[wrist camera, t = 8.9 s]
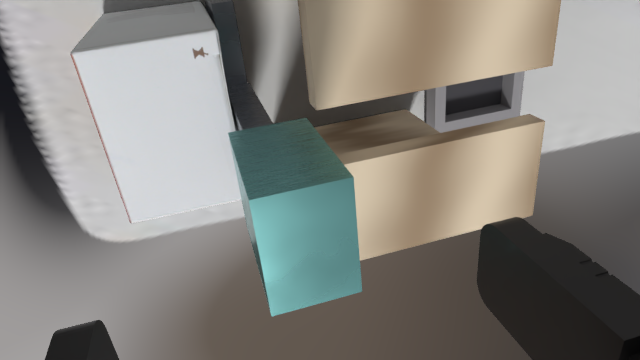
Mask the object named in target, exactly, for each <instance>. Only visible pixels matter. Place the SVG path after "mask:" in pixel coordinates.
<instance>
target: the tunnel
mask: <svg viewBox="0 0 640 360" xmlns="http://www.w3.org/2000/svg"><path fill="white" fill-rule="evenodd" d="M560 4H561V0H298V6H299V15H300V24H301V32H302V41H303V50H304V59H305V68H306V76H307V85H308V94H309V103H310V104H311V105H312V106H313V107H314V108H315V109H316V111H317V110H322V109H327V108H332V107H338V106H343V105H348V104H353V103H359V102H364V101H369V100H374V99H380V98H385V97H390V96H395V95H401V94H406V93H411V92H416V91H422V90H427V89H432V88H437V87H443V86H448V85H453V84H458V83H464V82H469V81H474V80H479V79H485V78H490V77H495V76H500V75H506V74H511V73H516V72H522V71H527V70H532V69H537V68H543V67H548V66H552V65H553V57H554V50H555V42H556V35H557V27H558V19H559V12H560ZM544 125H545V121H544V120H542V119H539V118H537V117H535V116H533V115H531V114H527V115H523V116H518V117H513V118H509V119H504V120H499V121H494V122H490V123H485V124H480V125H475V126H471V127H466V128H461V129H457V130H452V131H447V132H442V133H440V132H438V131H437V130H436V129H434V128H433V127H431V126H430V125H428V124H427V123H425V122H424V121H422V120H421V119H419V118H418V117H416V116H415V115H414V114H412V113H411V112H409V111H408V110H406V109H404V110H399V111H394V112H389V113H384V114H379V115H374V116H369V117H364V118H359V119H354V120H348V121H343V122H338V123H333V124H328V125H323V126H318V127H314V128H315V129H316V131H317V132H318V133H319V134H320V136H321V137H322V138H323V139H324V141H325V142H326V143H327V144H328V146H329V147H330V148H331V149H332V151H333V152H334V153H335V154H336V156H337V157H338V158H339V159H340V161H341V162H342V163H343V164H344V166H345V167H346V168H347V169H348V171H349V172H350V173H351V174H352V176H353V177H354V189H355V202H356V216H357V229H358V243H359V256H360V260H364V259H368V258H372V257H375V256H379V255H383V254H387V253H391V252H394V251H398V250H402V249H406V248H410V247H414V246H417V245H421V244H425V243H429V242H433V241H436V240H440V239H444V238H448V237H452V236H456V235H459V234H463V233H467V232H471V231H475V230H479V229H482V228H483V226H484V225H486V224H489V223H493V222H497V221H501V220H505V219H509V218H513V217H520V218H524V217H528V216H532V215H533V208H534V199H535V192H536V185H537V178H538V170H539V163H540V155H541V147H542V140H543V132H544Z"/></svg>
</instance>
